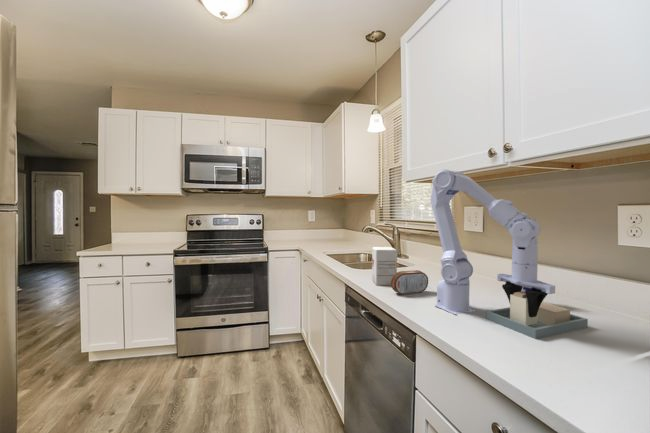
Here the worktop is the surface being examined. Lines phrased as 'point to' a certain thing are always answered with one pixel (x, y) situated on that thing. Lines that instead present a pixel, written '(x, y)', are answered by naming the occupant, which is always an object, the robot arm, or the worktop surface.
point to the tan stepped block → (552, 314)
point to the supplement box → (383, 265)
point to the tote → (536, 329)
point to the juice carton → (520, 309)
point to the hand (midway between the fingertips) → (523, 313)
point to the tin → (409, 282)
